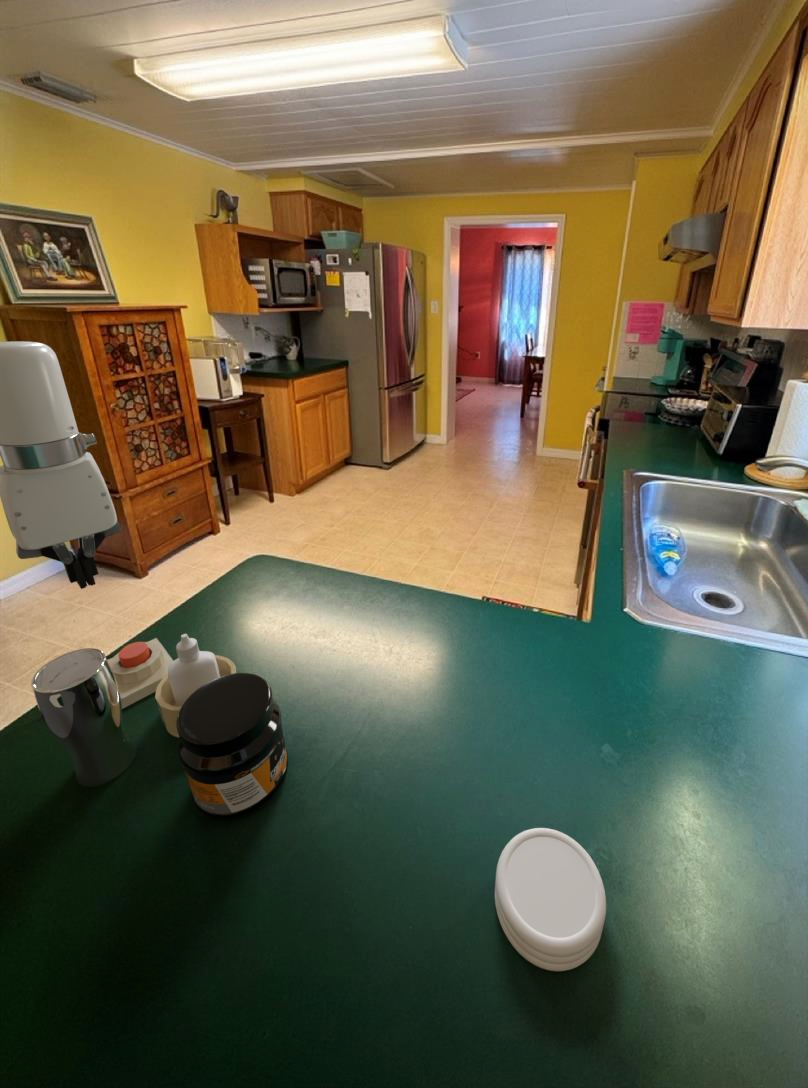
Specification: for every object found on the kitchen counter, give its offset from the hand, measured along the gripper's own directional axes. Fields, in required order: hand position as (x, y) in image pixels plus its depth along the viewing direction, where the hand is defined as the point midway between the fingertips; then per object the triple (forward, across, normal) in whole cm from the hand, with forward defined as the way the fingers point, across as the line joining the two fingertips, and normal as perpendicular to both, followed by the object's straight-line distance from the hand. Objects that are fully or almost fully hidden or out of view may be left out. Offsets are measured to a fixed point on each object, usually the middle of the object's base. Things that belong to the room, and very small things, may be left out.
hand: (85, 582), depth 63 cm
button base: (+17, -3, +1) cm, 18 cm away
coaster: (+17, -20, +61) cm, 66 cm away
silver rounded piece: (+18, +5, +14) cm, 23 cm away
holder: (+17, -7, +14) cm, 23 cm away
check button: (+14, -3, +1) cm, 15 cm away
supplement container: (+17, -6, +28) cm, 33 cm away
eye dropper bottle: (+17, -7, +14) cm, 23 cm away
